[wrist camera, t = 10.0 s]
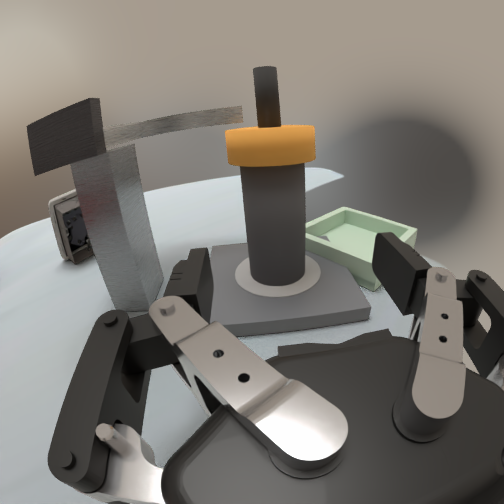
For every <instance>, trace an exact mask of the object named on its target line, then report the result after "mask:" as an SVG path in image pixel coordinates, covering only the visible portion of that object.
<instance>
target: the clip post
mask: <svg viewBox="0 0 504 504" xmlns="http://www.w3.org/2000/svg"><path fill="white" fill-rule="evenodd" d="M70 165H71V170H72V174H73V179H74V184H75V188H76V192H77V196H78V200H79V204H80V208H81V212H82V215H83V219H84V222H85V226H86V229H87V232H88V236H89V239H90V242H91V245H92V248H93V251H94V254H95V257H96V260H97V263H98V265H99V268H100V271H101V273H102V276H103V279H104V281H105V284H106V286H107V289H108V291H109V294H110V296H111V299H112V301H113V303H114V306H115V308H116V310H123V311H149V308H150V306H151V305H152V303H154V302H155V300H156V297H157V294H158V292H159V289H160V287H161V284H162V281H163V279H164V277H163V273H162V270H161V266H160V262H159V259H158V255H157V251H156V247H155V243H154V239H153V235H152V231H151V227H150V222H149V218H148V213H147V209H146V204H145V200H144V195H143V190H142V185H141V179H140V174H139V168H138V163H137V157H136V151H135V144H131V145H127V146H122V147H118V148H114V149H111V150H107V152H106V153H103V154H101V155H98V156H94V157H91V158H87V159H84V160H81V161H77V162H74V163H71V164H70Z"/></svg>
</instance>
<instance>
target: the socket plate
mask: <svg viewBox="0 0 504 504" xmlns="http://www.w3.org/2000/svg"><path fill="white" fill-rule="evenodd" d="M317 237H318V238H321V239H324V240H326V241H329V239H328V238H327V236H317ZM329 242H330V241H329ZM210 263H211V269H212V275H213V282H214V292H213V300H212V309H211V318H210V323H212V322H214V321H217V322H219V323H220V324H221V325H222V326H224V327H225V328H226V329H227V330H228V331H229V332H231V333H232V334H233V335H234V336H235V337H237V336H249V335H260V334H270V333H280V332H288V331H297V330H304V329H312V328H319V327H326V326H332V325H339V324H345V323H351V322H356V321H362V320H367V319H369V315H370V310H371V306H370V304H369V302H368V301H367V299H366V297H365V296H364V294H363V292H362V291H361V289H360V287H359V286H358V284H357V282H356V281H355V279H354V278H353V276H352V274H351V273H350V271H349V270H348V268H347V267H345V266H343V265H341V264H338V263H336V262H334V261H331V260H329V259H326V258H324V257H322V256H319V255H317V254H315V253H312V252H310V251H307V250H305V274H304V276H303V277H302V278H301V279H300V280H299V281H297V282H295V283H293V284H290V285H286V286H267V285H263V284H260V283H258V282H257V281H255V280H254V279H253V278H252V276H251V273H250V263H249V253H248V243H240V244H230V245H220V246H212V252H211V258H210Z"/></svg>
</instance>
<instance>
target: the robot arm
mask: <svg viewBox="0 0 504 504" xmlns="http://www.w3.org/2000/svg"><path fill="white" fill-rule="evenodd" d="M372 269H373V272H374V274H375V276H376V277H377V278H378V280H379V281H380V283H381V284H382V285H383V287H384V288H385V290H386V291H387V293H388V294H389V295H390V297H391V298H392V300H393V301H394V303H395V304H396V306H397V307H398V309H399V310H400V312H401V313H402V315H403V316H404V315H409V314H414V317H413V320H412V323H411V328H410V332H409V337H408V338H404V337H397V336H392V335H391V333H390V331H389V329H384V330H379V331H375V332H370V333H365V334H362V335H360V336H357V337H355V338H353V339H350V340H348V341H345V342H343V343H340V344H319V343H303V344H295V345H286V346H278V355H277V356H274V357H272V358H269V359H267V360H265V361H264V360H263V359H262V358H260V357H259V356H258V355H257V354H255V353H254V352H253V351H252V350H251V349H249V348H248V347H247V346H246V345H245V344H243V343H242V342H241V341H240V340H239V339H238V338H236V337H235V336H234V335H233V334H232V333H231V332H229V331H228V330H227V329H226V328H225V327H224V326H222V325H221V324H220V323H219V322H217V321H214V322H212V323H210V318H211V309H212V300H213V292H214V282H213V275H212V269H211V263H210V258H209V252H208V249H207V247H206V248H196V249H191V250H190V253H189V256H188V259H187V260H181V261H180V262H179V263H177V264H176V265H175V266H174V268H173V271H172V275H171V276H170V279H169V280H170V281H169V282H168V284H167V287H166V290H165V293H164V296H163V297H162V298H160V299H158V300H156V301H155V302H154V303H152V305H151V306H150V308H149V313H148V314H145V315H142V316H138V317H134V318H130V319H129V317H128V314H127V313H126V312H125V311H123V310H111V311H108V312H106V313H104V314H102V315H101V316H100V317H99V318H98V319H97V321H96V322H95V325H94V327H93V329H92V331H91V333H90V336H89V338H88V340H87V342H86V345H85V347H84V349H83V352H82V354H81V357H80V359H79V362H78V364H77V367H76V369H75V372H74V374H73V377H72V380H71V382H70V385H69V388H68V391H67V393H66V396H65V399H64V402H63V405H62V408H61V411H60V414H59V417H58V421H57V424H56V427H55V431H54V434H53V438H52V442H51V445H50V449H49V453H48V466H49V469H50V471H51V473H52V474H53V475H54V476H55V477H56V478H57V479H58V480H60V481H62V482H63V483H65V484H67V485H69V486H71V487H73V488H74V489H75V490H77V491H78V492H81V493H83V494H85V495H87V496H89V497H91V498H94V499H96V500H98V501H101V502H105V503H108V504H130V503H131V504H504V291H503V290H502V289H501V288H500V287H499V286H498V285H497V284H496V282H495V281H494V280H492V279H491V277H490V276H489V275H487V274H486V273H484V272H482V271H479V270H471V271H470V272H469V273H468V276H467V280H457V279H456V278H455V276H454V275H453V274H452V272H450V271H449V270H447V269H445V268H441V267H432V266H431V265H430V264H429V263H428V262H427V261H426V260H425V259H424V258H423V257H422V256H420V255H419V254H418V253H417V252H415V250H414V249H413V248H412V247H411V246H410V245H408V244H407V243H405V242H403V241H401V240H400V239H399V238H398V237H397V236H396V235H395V234H394V233H392V232H383V233H377V234H376V237H375V243H374V251H373V258H372ZM482 309H484V310H485V312H486V313H487V314H488V315H489V316H490V319H491V328H490V330H489V332H488V333H487V332H486V331H485V329H484V328H483V327H482V325H481V324H480V322H479V321H478V318H479V316H480V314H481V311H482ZM463 347H464V348H465V350H466V351H467V353H468V355H469V356H470V358H471V360H472V361H473V363H474V365H475V367H476V368H477V370H478V372H479V374H480V375H479V374H477V373H475V372H473V371H471V370H469V369H468V368H466V366H465V364H464V363H463V362H462V356H463ZM166 365H171V366H172V368H173V369H174V370H175V372H176V373H177V374H178V376H179V377H180V378H181V379H182V381H183V382H184V383H185V385H186V386H187V387H188V388H189V390H190V391H191V392H192V393H193V395H194V396H195V398H196V399H197V401H198V402H199V404H200V405H201V407H202V408H203V410H204V411H205V412H206V413H207V415H208V416H209V418H208V419H207V420H206V421H205V422H204V424H203V425H202V426H201V427H200V428H199V429H198V430H197V431H196V432H195V433H194V434H193V435H192V436H191V437H190V438H189V439H188V440H187V441H186V442H185V443H184V444H183V445H182V446H181V447H180V448H179V449H178V450H177V451H176V452H175V453H174V454H173V455H172V456H171V458H170V459H169V460H168V462H167V463H166V465H165V467H164V469H162V468H158V467H157V466H156V464H155V459H154V452H153V450H152V448H151V447H150V445H149V444H148V443H147V442H146V441H145V440H144V439H143V438H142V437H141V434H142V426H143V419H144V412H145V405H146V399H147V392H148V386H149V381H150V375H151V369H155V368H159V367H163V366H166Z"/></svg>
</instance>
